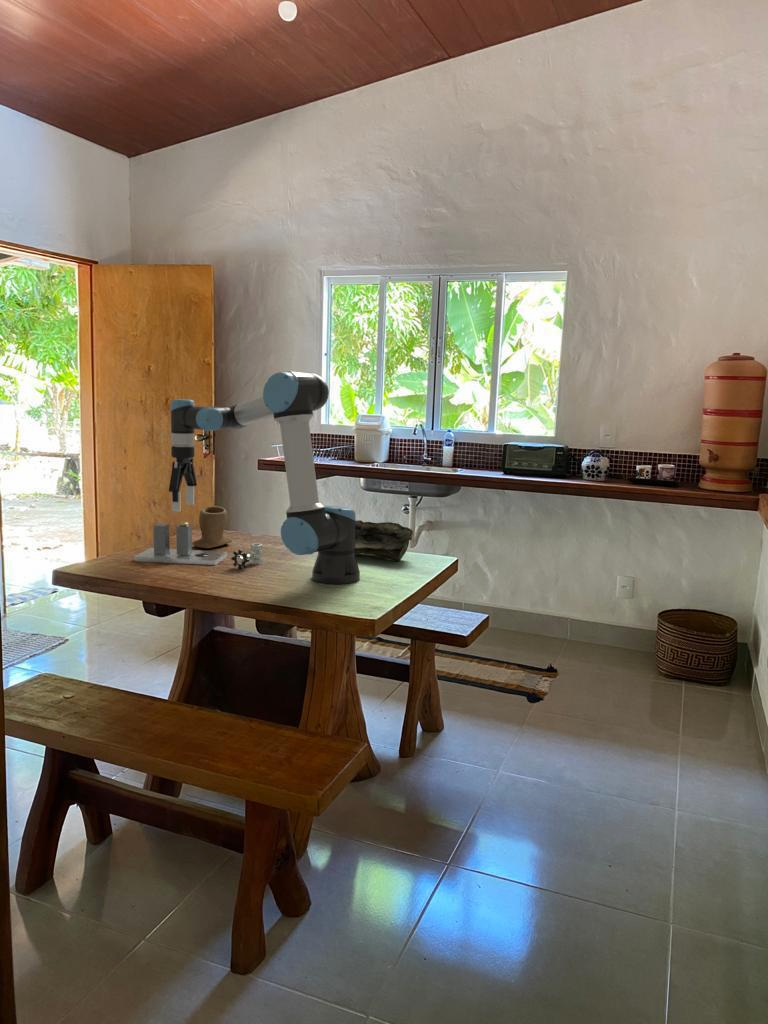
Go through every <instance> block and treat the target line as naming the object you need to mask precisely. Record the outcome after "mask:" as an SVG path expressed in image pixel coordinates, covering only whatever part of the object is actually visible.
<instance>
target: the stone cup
mask: <svg viewBox="0 0 768 1024" xmlns="http://www.w3.org/2000/svg"><path fill="white" fill-rule="evenodd" d="M198 519H199V520H198V525H199V529H200V533H201V538H200V539H199V538H198V539H197V540H194V541H192V546H193V547H197V548H200V549H201V548H202V549H213V548H217V547H221V546H224V545H227V544H230V543H232V542H233V540H232V538H231V537H229V536H228V534H226V533H224V532H225V528H226V524H227V522H228V511H227V510H226V508H224V507H223V506H220V505H219V506H218V505H210V506H206V507H204V508H202V509H200V511H199V516H198Z"/></svg>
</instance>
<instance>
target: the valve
mask: <svg viewBox="0 0 768 1024" xmlns="http://www.w3.org/2000/svg"><path fill="white" fill-rule="evenodd" d="M242 552H243V549H238V550H236V551H233V552H232V553H233V554H232V555H234V556H231V557H230V559H231V561H234V563H232V565H233V567H238V569H239V570H242V569H243V568H244V569H246V568H247V567H248V564H247V563H249V562H250V564H251V565H262V564H263V555H264V552H263V544H262V543H258V542H257V543H256V542H255V543H252V544H250V551H248V552H243V553H242ZM237 557H238V558H237Z"/></svg>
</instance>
